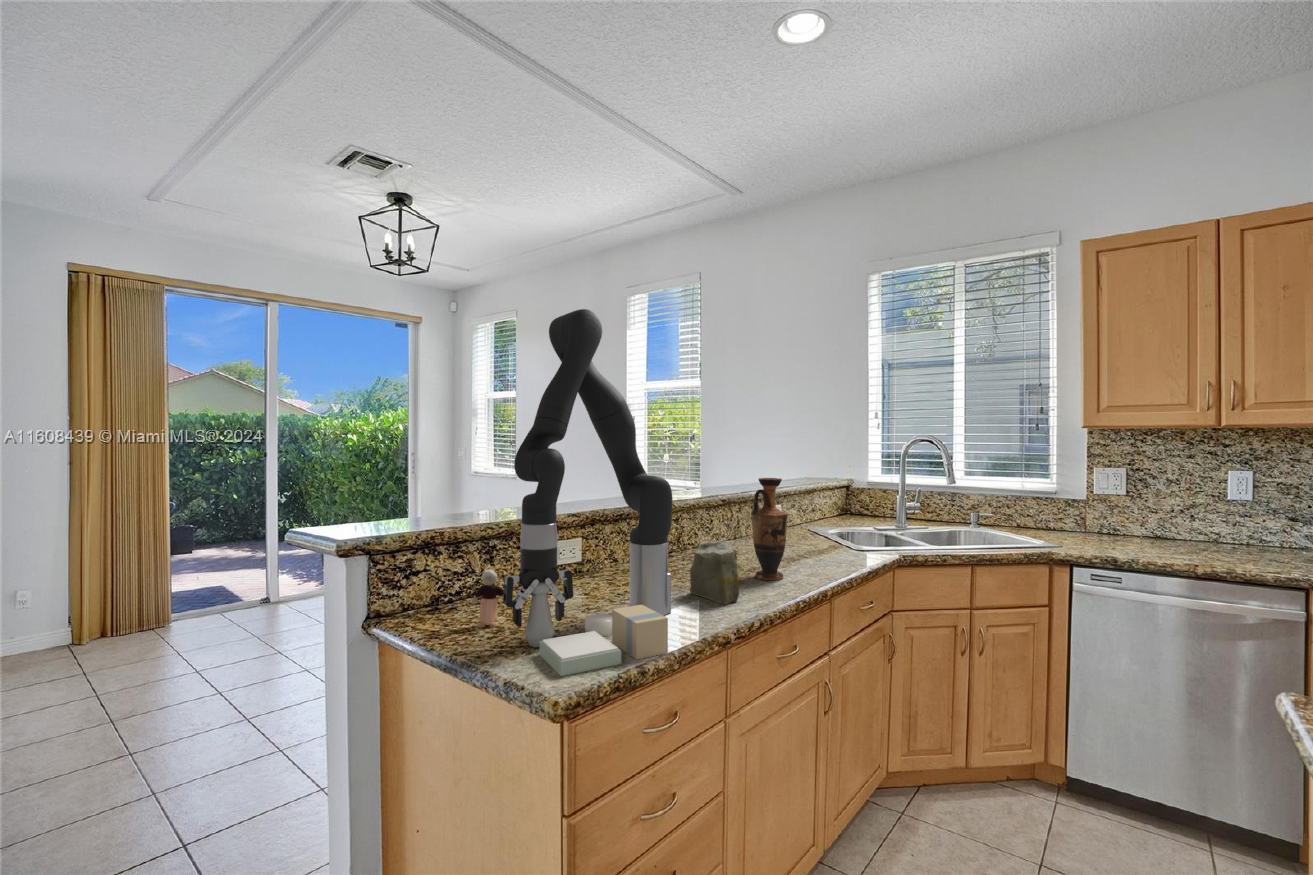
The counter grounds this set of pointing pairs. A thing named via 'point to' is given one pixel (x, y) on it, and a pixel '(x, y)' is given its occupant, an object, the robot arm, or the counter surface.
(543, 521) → the robot arm
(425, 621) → the counter surface
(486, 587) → the grandmother figurine
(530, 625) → the salt shaker
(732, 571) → the stone block
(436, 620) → the counter surface
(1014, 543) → the counter surface
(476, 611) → the counter surface
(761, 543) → the vase
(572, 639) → the podium
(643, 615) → the kraft carton
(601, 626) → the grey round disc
